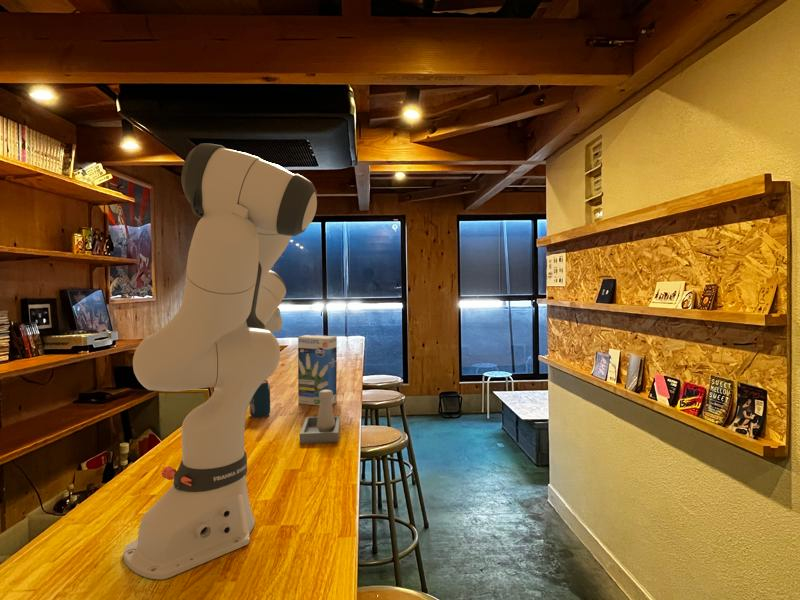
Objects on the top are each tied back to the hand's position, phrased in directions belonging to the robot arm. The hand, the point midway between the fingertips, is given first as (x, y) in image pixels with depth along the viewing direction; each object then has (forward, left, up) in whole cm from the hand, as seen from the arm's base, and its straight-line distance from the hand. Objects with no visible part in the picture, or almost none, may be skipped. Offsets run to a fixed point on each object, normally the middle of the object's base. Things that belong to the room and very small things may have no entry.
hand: (248, 338), depth 130 cm
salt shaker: (+20, -10, -31) cm, 38 cm away
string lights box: (+44, +18, -32) cm, 57 cm away
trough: (+20, -8, -31) cm, 38 cm away
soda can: (+21, +23, -32) cm, 44 cm away
